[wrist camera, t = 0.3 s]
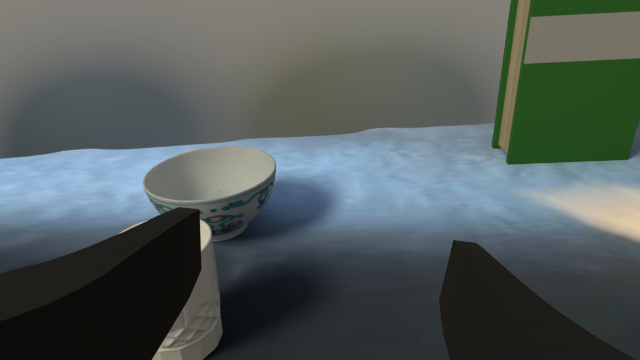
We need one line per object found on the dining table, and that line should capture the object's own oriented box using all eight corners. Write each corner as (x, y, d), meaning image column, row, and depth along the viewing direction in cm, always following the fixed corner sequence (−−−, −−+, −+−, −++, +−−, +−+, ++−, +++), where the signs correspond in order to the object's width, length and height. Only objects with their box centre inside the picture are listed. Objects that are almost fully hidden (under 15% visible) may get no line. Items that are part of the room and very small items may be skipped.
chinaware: (293, 199, 59) (288, 146, 56) (263, 267, 46) (254, 203, 42) (189, 196, 61) (179, 145, 58) (132, 259, 48) (114, 198, 45)
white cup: (235, 360, 35) (216, 258, 30) (131, 390, 33) (95, 285, 28) (224, 298, 42) (207, 207, 37) (137, 319, 40) (108, 226, 35)
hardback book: (508, 164, 66) (534, -9, 55) (491, 146, 72) (512, -11, 62) (627, 159, 65) (677, -16, 54) (599, 142, 72) (639, -18, 61)
